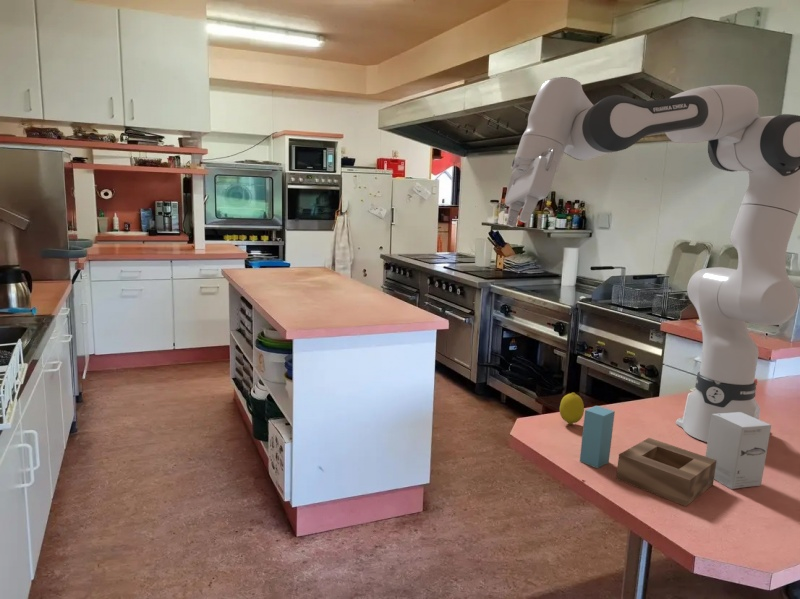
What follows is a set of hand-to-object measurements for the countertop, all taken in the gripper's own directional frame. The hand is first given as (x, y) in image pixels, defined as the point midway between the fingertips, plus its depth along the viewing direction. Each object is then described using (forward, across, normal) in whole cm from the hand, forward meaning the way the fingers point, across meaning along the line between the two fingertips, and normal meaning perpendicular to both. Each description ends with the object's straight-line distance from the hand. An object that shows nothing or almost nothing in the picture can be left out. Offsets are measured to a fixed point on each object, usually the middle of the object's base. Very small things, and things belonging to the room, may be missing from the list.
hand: (516, 224), depth 115 cm
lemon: (+38, +20, -32) cm, 53 cm away
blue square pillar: (+41, 0, -31) cm, 51 cm away
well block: (+39, -8, -41) cm, 57 cm away
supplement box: (+35, -6, -55) cm, 66 cm away
